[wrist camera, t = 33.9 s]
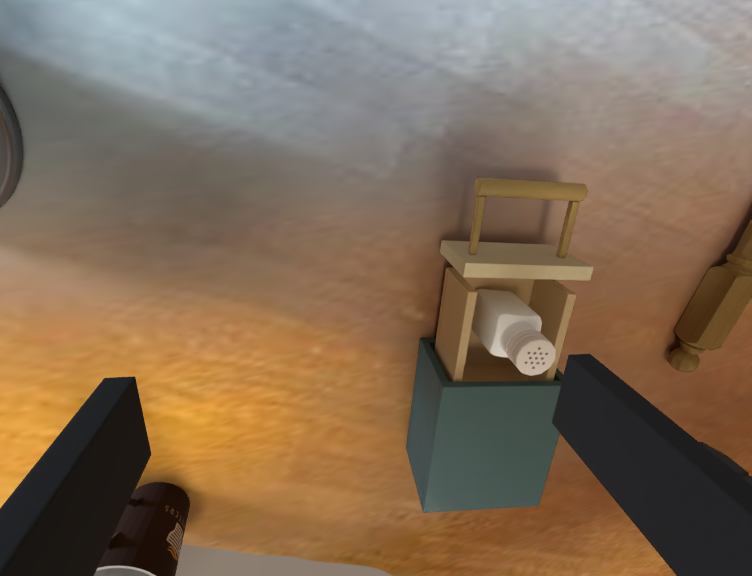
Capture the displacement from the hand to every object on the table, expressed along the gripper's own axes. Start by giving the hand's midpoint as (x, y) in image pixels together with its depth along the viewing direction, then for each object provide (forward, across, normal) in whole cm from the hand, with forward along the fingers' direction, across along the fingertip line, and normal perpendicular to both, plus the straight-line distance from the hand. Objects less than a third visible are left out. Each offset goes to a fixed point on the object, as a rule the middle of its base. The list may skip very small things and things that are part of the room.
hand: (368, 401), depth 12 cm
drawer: (+25, +16, -5) cm, 30 cm away
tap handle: (+25, +43, -2) cm, 50 cm away
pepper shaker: (+24, +15, -8) cm, 29 cm away
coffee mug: (+27, -19, -31) cm, 45 cm away
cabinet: (+26, +15, -20) cm, 36 cm away
